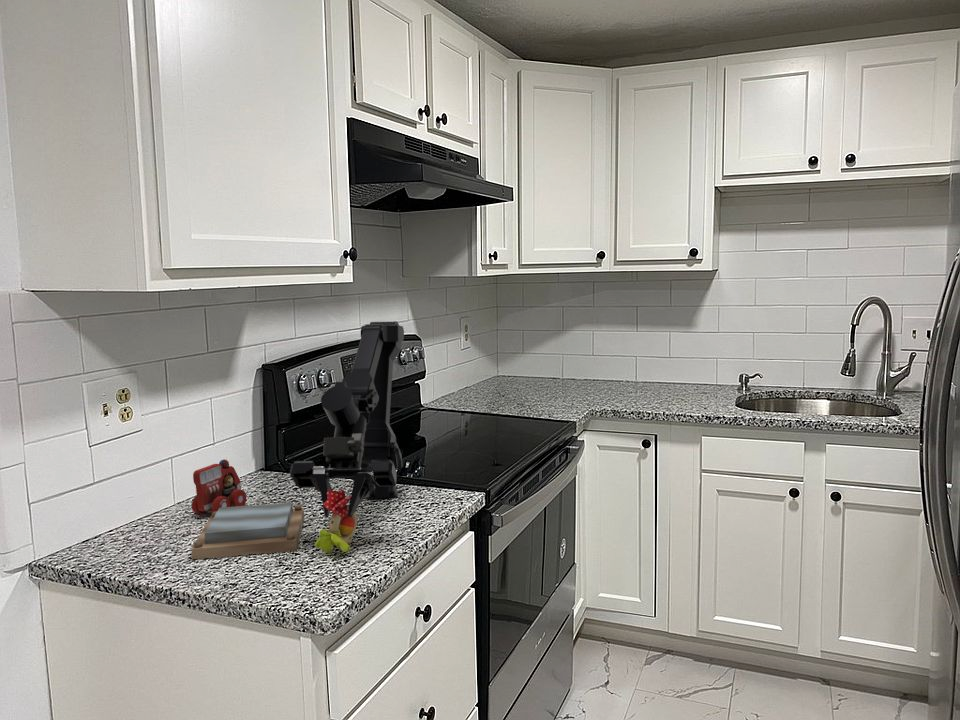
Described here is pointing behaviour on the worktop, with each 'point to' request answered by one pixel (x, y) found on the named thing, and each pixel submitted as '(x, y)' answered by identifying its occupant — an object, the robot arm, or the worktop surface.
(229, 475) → the toy fire truck
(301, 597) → the worktop surface
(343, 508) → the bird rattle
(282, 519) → the wooden toy tray
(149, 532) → the worktop surface
